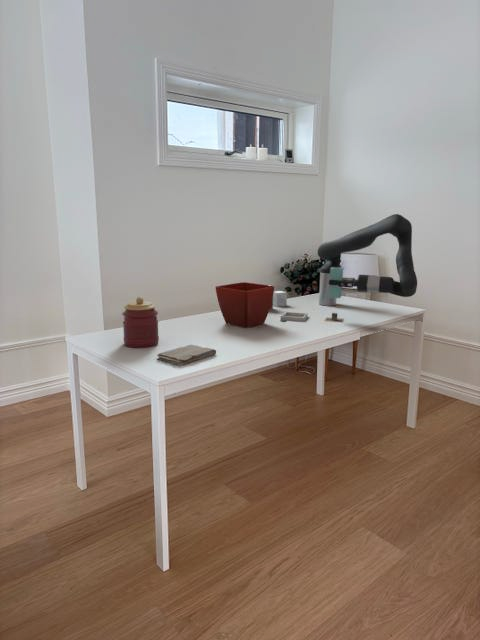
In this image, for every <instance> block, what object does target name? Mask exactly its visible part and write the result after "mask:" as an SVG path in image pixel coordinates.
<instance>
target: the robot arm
mask: <svg viewBox="0 0 480 640" xmlns="http://www.w3.org/2000/svg"><path fill="white" fill-rule="evenodd" d="M387 234H390V235H391V236H393V237H394V238H396V239H397V242H398V250H397V253H396V255H395V256H396V257H395V265H396V271H397V274H398V277H399V281H397V280H395V279H394V278H393V277H391V276H382V275H381V276H380V275H375V274H374V275H371V274H358V275H357V279H355V277H343V278H342V280H330V268H332V267H337V268H341V267H340V266H341V258H342V254H343V253H349V252H355V251H359V250H362V249H366V248H369V247H370V246H371V245H373V244H374V242H375V240H377V238H378V237H380V236H383V235H387ZM412 237H413V226H412V223H411V221H410V220H408V219H407V218H406V217H404V216H403V215H401V214H399V213H395V214H391V215H389V216H387V217H385V218H384V219H381V220H380V221H378V222H375V223H373V224H370V225H368V226H366V227H363V228H361V229H358V230H355V231H353V232H351V233H348V234H346V235H344V236H342V237H339V238H337V239H335V240H331V241H326V242H323V243H321V244H320V245H319V246H318V248H317V256H318V257H319V259H321V260H324V261H325V263H324V264H323V265H322V266H321V267H320V269H319V271H320V273H319V291H318V292H319V295H318V297H319V298H318V305H320V306H326V307H327V306H329V307H330V306H331V307H332V306H336V305H337V298H331V297H329V285H337V286H339V287H342V288H349V289H351V288H354V287H356V290H357V292H359V293H383V294H391V295H395V296H398V297H403V298H409V297H413V296H414V295H415V294H416V292H417V289H418V288H417V287H418V279H417V278H418V277H417V274H416V271H415V267H414V266H415V265H414V259H413V254H412V242H413V241H412V239H413V238H412ZM341 282H342V284H341Z"/></svg>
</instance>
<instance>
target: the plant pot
mask: <svg viewBox="0 0 480 640" xmlns="http://www.w3.org/2000/svg"><path fill="white" fill-rule="evenodd" d="M270 285H271V284H260V283H254V282H244V281H243V282H242V281H241V282H236V283H229V284H223V285H222V284H221V285H217V286H215V288H214V289H215V294H216V296H217V297H216V298H217V302H218V305H219V308H220V311H221V314H222V316H223V318H222V319H224V322H225V324H227V325H233V326H237V327H241V328H250V327H253V326H258V325H262V324H265V323H266V320H267V317H268V314H269V312H270V310H269V309H270V306H271V302H272V298H273V293H274V291H275V285H272V286H270Z"/></svg>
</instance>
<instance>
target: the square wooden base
mask: <svg viewBox="0 0 480 640" xmlns="http://www.w3.org/2000/svg"><path fill="white" fill-rule="evenodd" d="M344 320H345V318H340V317H339V318H338V312H332V313H331V317H326V318H325V319H324V322H330V323H331V322H332V323H343V322H344Z"/></svg>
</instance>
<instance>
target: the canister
mask: <svg viewBox="0 0 480 640" xmlns="http://www.w3.org/2000/svg"><path fill="white" fill-rule="evenodd" d="M156 307H157V305H156V304H153V303H152V302H150V301H144V298H143V297H141V296H139V297H138V296H137V298H136V300H135V301H130V302H128V303H127V304H126V305H125V306H124V307H123V308H124V309H125V310H124V311H123V312H122V313H121V315H122V316H123V320H122V324H123V325H122V326H123V343H124V346H126V347H129V348H133V349H135V348H136V349H139V348H141V349H142V348H151V347H155V346H156V345H158V344H159V341H160V339H159V338H160V336H159V320H158V317H157V316H158V314H159V311H158V310H156Z"/></svg>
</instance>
